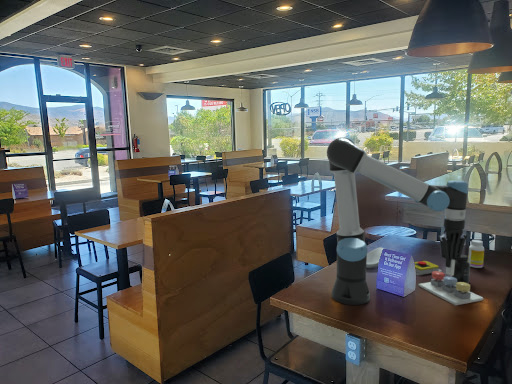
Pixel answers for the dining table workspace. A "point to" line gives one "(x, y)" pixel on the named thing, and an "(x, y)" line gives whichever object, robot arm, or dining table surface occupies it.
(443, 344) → the dining table surface
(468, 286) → the ochre button
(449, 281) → the slate button
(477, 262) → the supplement bottle
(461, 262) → the supplement bottle
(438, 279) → the red button
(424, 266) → the emergency button
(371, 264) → the spoon rest
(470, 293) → the console
